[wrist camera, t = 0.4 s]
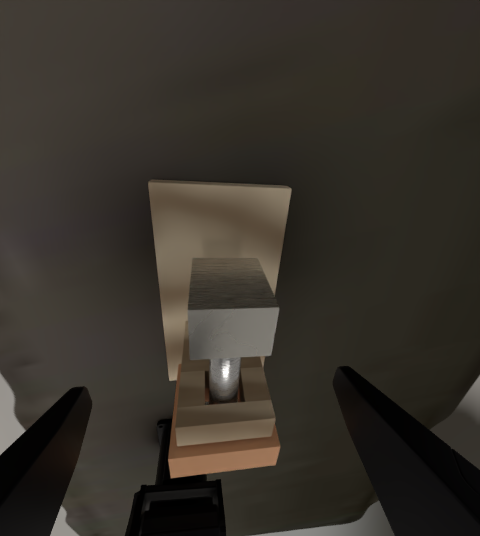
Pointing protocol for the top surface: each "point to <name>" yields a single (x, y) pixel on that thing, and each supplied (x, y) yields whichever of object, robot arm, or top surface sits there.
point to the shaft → (229, 319)
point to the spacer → (219, 450)
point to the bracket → (178, 284)
